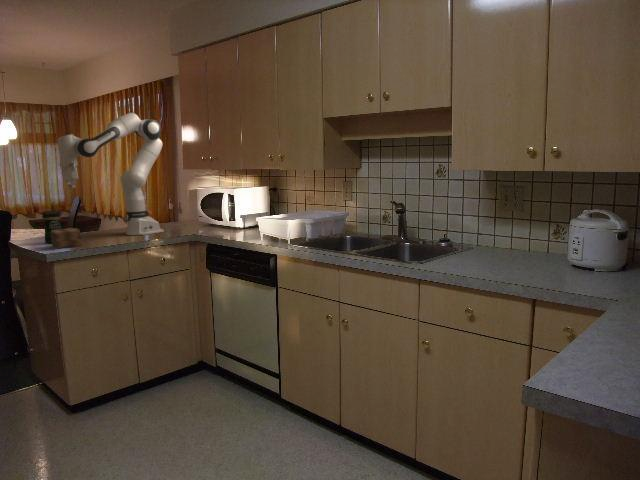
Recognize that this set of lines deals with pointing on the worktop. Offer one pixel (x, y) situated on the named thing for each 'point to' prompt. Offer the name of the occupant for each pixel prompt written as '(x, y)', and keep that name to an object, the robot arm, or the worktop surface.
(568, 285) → the worktop surface
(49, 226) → the coffee jar
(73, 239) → the tip box
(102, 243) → the worktop surface
